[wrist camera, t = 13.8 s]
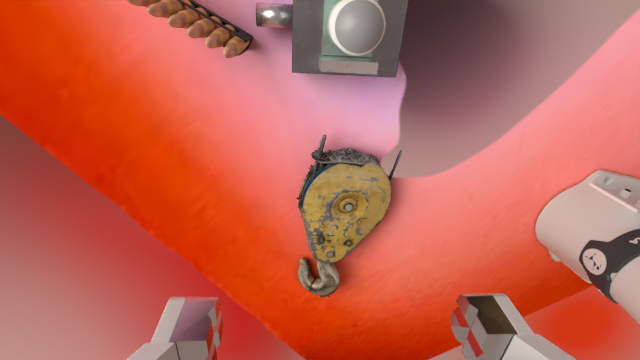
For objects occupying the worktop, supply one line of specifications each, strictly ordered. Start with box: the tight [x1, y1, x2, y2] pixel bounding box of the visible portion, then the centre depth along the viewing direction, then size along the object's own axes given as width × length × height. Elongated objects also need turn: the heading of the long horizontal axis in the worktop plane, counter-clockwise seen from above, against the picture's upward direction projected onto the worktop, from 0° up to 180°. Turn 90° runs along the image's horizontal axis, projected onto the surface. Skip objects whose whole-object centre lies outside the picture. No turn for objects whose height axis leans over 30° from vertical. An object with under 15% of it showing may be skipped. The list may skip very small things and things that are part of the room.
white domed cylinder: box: [327, 0, 386, 56], centre depth 33 cm, size 5×5×6 cm
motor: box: [256, 0, 408, 77], centre depth 37 cm, size 16×11×9 cm
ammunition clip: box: [127, 0, 253, 58], centre depth 35 cm, size 11×2×12 cm, turn 59°
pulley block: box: [297, 135, 402, 297], centre depth 53 cm, size 14×6×30 cm
